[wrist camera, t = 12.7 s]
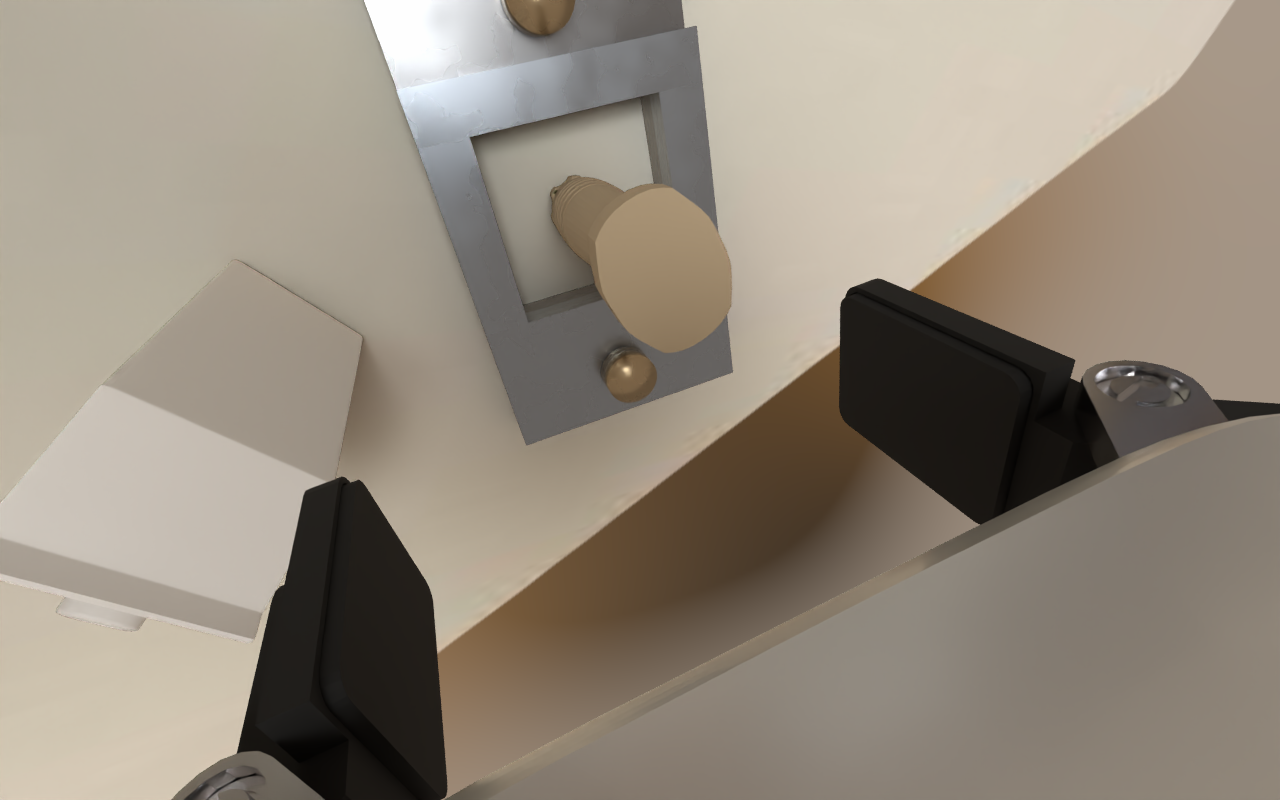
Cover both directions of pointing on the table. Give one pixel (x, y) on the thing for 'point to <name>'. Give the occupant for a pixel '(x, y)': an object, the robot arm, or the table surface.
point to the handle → (648, 258)
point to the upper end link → (521, 343)
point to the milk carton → (189, 466)
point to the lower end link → (512, 45)
